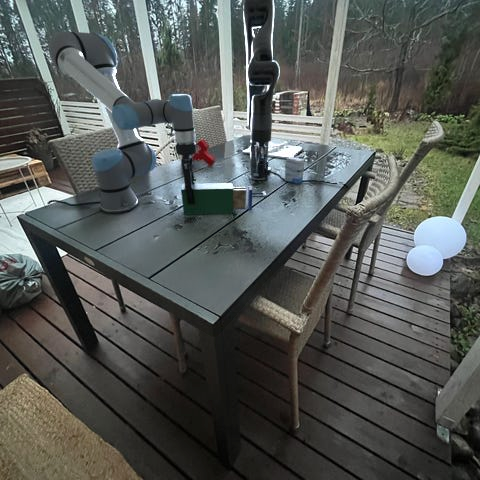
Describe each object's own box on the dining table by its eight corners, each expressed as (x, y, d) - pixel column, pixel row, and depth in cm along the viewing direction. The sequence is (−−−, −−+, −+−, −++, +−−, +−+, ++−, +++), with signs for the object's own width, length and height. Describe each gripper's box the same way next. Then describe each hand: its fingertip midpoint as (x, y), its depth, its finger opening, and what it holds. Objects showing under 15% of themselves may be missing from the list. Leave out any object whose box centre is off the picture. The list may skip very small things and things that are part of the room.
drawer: (264, 205, 118) (265, 185, 113) (266, 210, 113) (267, 189, 108) (205, 206, 116) (204, 186, 111) (205, 211, 112) (204, 190, 107)
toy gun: (219, 159, 165) (203, 138, 161) (216, 161, 162) (200, 139, 158) (199, 174, 175) (184, 155, 171) (196, 176, 172) (181, 156, 168)
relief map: (291, 159, 177) (291, 151, 174) (243, 153, 190) (243, 145, 187) (302, 149, 197) (303, 142, 194) (258, 144, 211) (258, 137, 208)
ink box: (302, 181, 142) (305, 159, 136) (297, 184, 139) (300, 161, 133) (289, 177, 147) (291, 156, 141) (284, 180, 144) (285, 158, 138)
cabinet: (232, 207, 118) (232, 183, 112) (233, 213, 113) (233, 188, 107) (185, 208, 116) (182, 183, 111) (183, 214, 111) (180, 189, 105)
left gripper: (178, 136, 107) (185, 191, 119) (171, 149, 91) (180, 211, 103) (197, 136, 107) (202, 191, 120) (193, 148, 91) (199, 210, 104)
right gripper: (249, 123, 103) (248, 168, 113) (252, 130, 92) (252, 179, 101) (268, 123, 104) (266, 168, 113) (274, 130, 92) (271, 179, 102)
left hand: (192, 200), depth 111 cm, fingers closed on cabinet, 6 cm apart
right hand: (259, 173), depth 107 cm, fingers closed
